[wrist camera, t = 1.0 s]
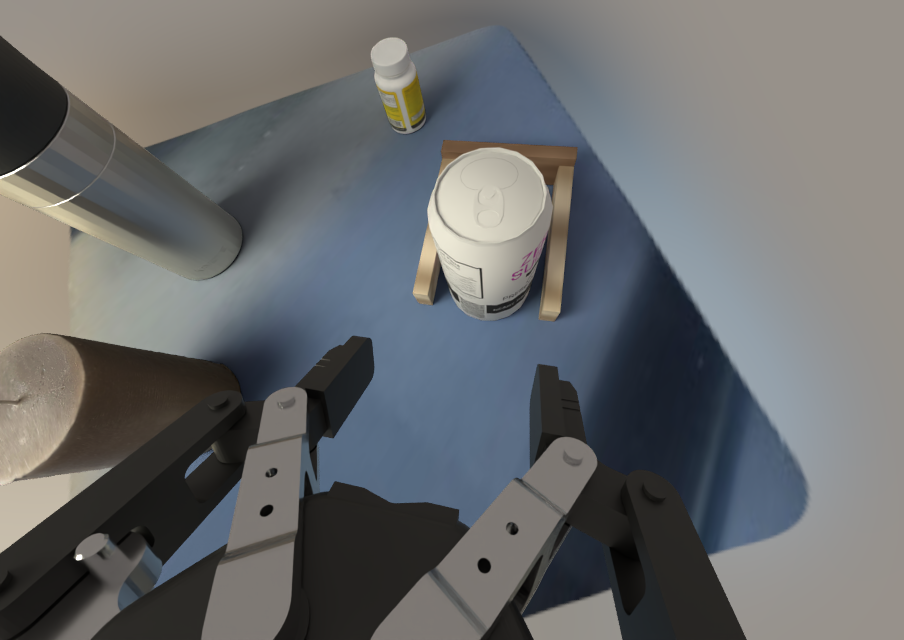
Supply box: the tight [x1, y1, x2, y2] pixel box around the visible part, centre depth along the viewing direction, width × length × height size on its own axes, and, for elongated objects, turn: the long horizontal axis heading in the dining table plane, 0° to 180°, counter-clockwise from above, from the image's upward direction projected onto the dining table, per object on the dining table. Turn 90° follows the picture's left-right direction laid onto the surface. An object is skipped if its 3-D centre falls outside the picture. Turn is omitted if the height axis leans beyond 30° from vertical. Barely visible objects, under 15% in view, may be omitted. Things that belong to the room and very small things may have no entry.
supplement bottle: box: [371, 38, 426, 134], centre depth 38 cm, size 5×5×8 cm
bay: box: [413, 140, 577, 321], centre depth 34 cm, size 18×14×4 cm
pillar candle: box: [0, 333, 241, 485], centre depth 27 cm, size 10×10×15 cm
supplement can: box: [427, 147, 553, 321], centre depth 27 cm, size 8×8×15 cm
